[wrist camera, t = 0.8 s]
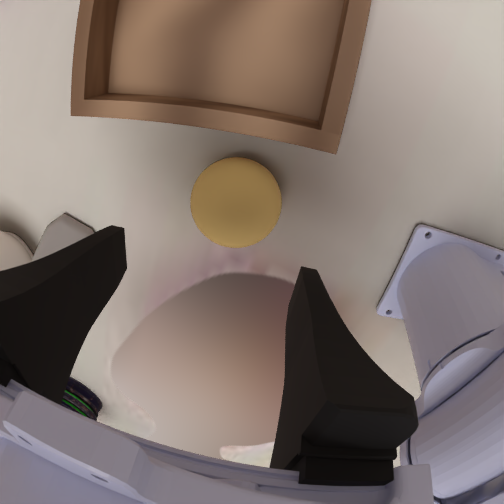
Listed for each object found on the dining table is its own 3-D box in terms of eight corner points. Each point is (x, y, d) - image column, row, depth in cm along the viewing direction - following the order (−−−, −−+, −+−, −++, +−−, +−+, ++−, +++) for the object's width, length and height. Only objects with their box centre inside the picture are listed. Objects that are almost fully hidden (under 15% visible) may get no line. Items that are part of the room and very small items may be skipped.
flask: (62, 197, 22) (-23, 270, 14) (125, 257, 24) (60, 349, 16) (38, 246, 25) (-27, 315, 17) (92, 296, 28) (38, 376, 19)
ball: (291, 156, 18) (288, 186, 14) (275, 228, 21) (267, 275, 17) (208, 140, 18) (180, 166, 14) (200, 213, 21) (175, 254, 17)
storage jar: (52, 363, 38) (6, 443, 25) (108, 399, 40) (71, 483, 27) (48, 384, 43) (12, 452, 30) (96, 415, 45) (66, 485, 32)
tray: (369, -43, 11) (381, -59, 8) (330, 141, 17) (336, 154, 15) (121, -57, 11) (96, -68, 9) (97, 106, 18) (70, 115, 15)
